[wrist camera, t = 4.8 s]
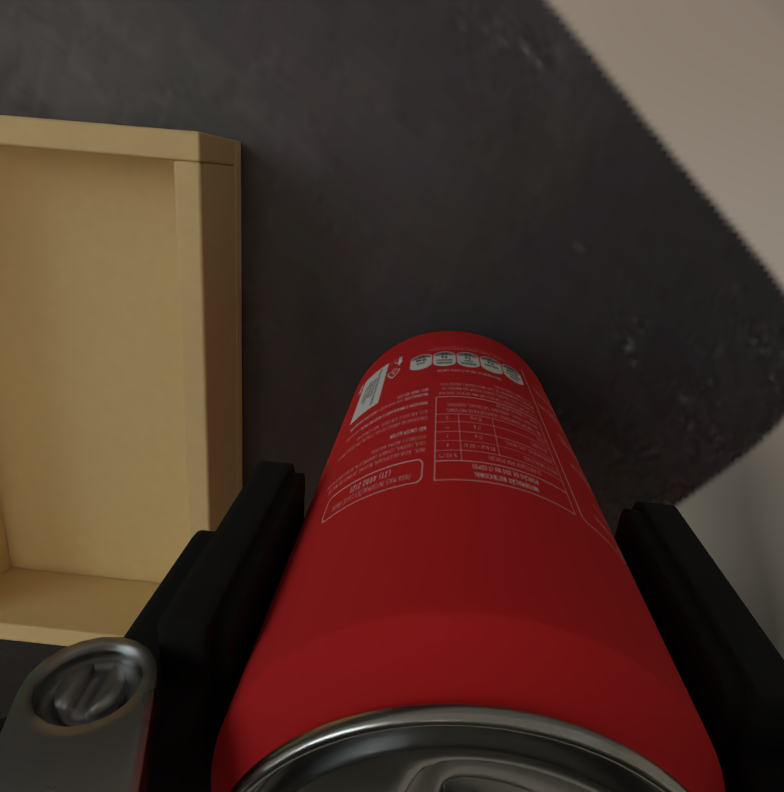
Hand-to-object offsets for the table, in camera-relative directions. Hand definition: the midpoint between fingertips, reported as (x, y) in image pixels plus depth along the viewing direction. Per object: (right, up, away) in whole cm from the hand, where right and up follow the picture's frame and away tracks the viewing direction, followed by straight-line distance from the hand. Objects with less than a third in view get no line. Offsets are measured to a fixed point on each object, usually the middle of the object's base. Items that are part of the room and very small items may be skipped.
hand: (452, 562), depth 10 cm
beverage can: (+1, +2, +7) cm, 7 cm away
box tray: (-9, +3, +8) cm, 13 cm away
